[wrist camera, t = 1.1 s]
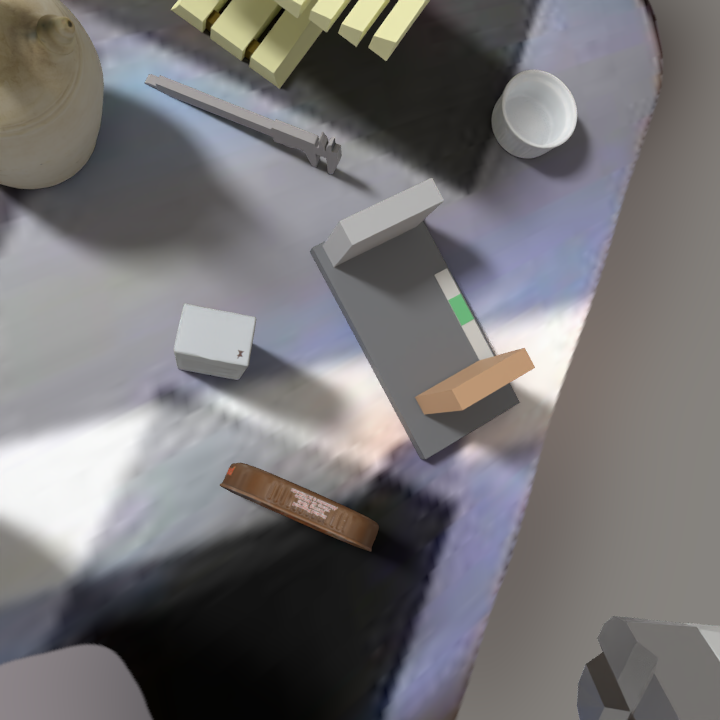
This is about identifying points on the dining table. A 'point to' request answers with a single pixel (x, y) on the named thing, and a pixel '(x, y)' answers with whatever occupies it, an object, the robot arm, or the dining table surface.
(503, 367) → the paddle
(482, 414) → the gauge board
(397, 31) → the slatted curved stool
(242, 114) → the caliper
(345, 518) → the tin
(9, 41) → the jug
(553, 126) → the ramekin
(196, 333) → the skincare box
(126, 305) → the dining table surface
